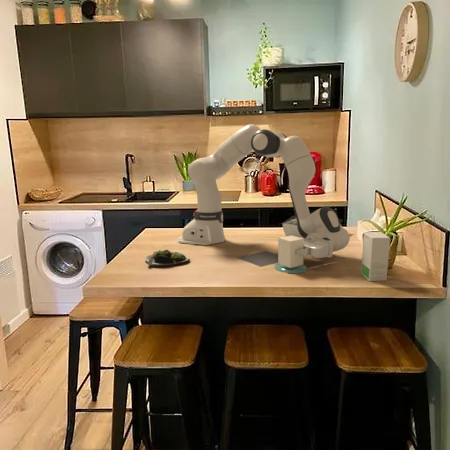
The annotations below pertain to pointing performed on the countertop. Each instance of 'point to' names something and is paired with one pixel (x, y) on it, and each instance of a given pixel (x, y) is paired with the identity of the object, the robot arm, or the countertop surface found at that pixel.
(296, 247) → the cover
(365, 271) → the skincare box
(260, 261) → the mat
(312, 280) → the countertop surface
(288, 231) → the food packaging
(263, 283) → the countertop surface
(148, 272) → the countertop surface
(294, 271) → the teal pot lid
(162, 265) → the salad plate
